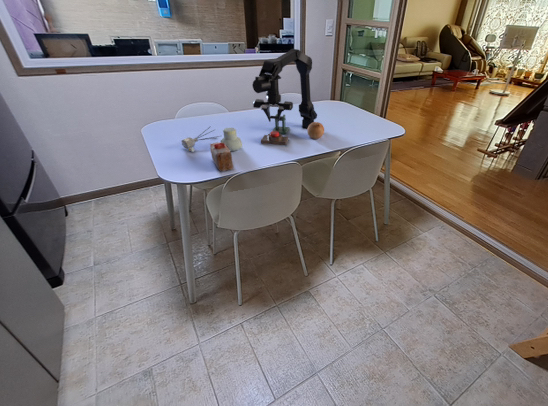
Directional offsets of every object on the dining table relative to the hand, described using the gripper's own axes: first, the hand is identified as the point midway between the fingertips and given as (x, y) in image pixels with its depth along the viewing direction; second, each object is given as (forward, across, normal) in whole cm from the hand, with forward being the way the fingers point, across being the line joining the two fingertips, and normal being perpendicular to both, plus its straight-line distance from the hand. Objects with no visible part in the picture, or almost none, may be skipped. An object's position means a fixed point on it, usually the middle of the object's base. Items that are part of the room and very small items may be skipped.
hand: (274, 121), depth 146 cm
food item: (+11, +16, +30) cm, 36 cm away
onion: (+11, -20, -11) cm, 26 cm away
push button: (+7, 0, 0) cm, 7 cm away
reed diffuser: (+11, +34, +10) cm, 38 cm away
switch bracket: (+11, 0, -17) cm, 20 cm away
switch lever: (+3, +1, -12) cm, 13 cm away
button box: (+11, 0, 0) cm, 11 cm away
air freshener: (+11, +18, +13) cm, 25 cm away
